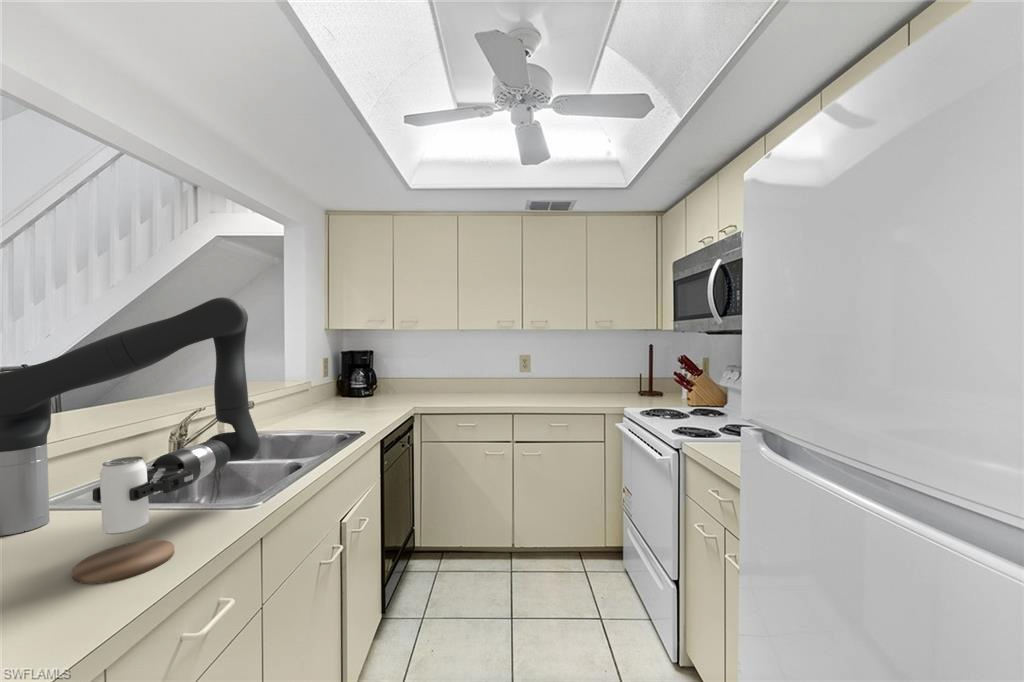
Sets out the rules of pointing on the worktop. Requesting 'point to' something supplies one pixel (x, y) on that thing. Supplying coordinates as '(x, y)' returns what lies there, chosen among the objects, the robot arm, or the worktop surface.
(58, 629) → the worktop surface
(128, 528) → the can
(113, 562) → the disc
